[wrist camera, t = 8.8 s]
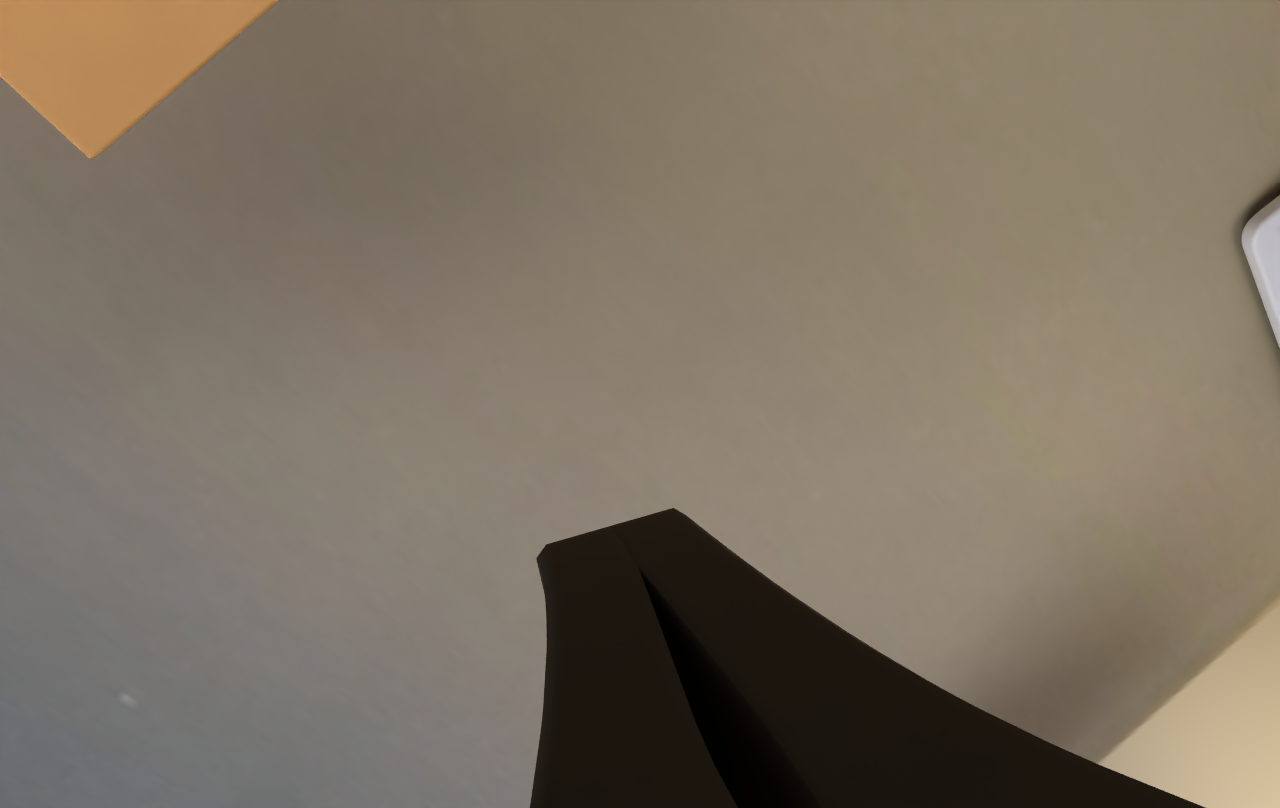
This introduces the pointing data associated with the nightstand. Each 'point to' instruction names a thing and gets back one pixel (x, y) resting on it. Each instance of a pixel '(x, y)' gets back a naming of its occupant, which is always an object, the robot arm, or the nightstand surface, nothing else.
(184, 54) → the carton
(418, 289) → the nightstand surface
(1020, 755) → the robot arm
